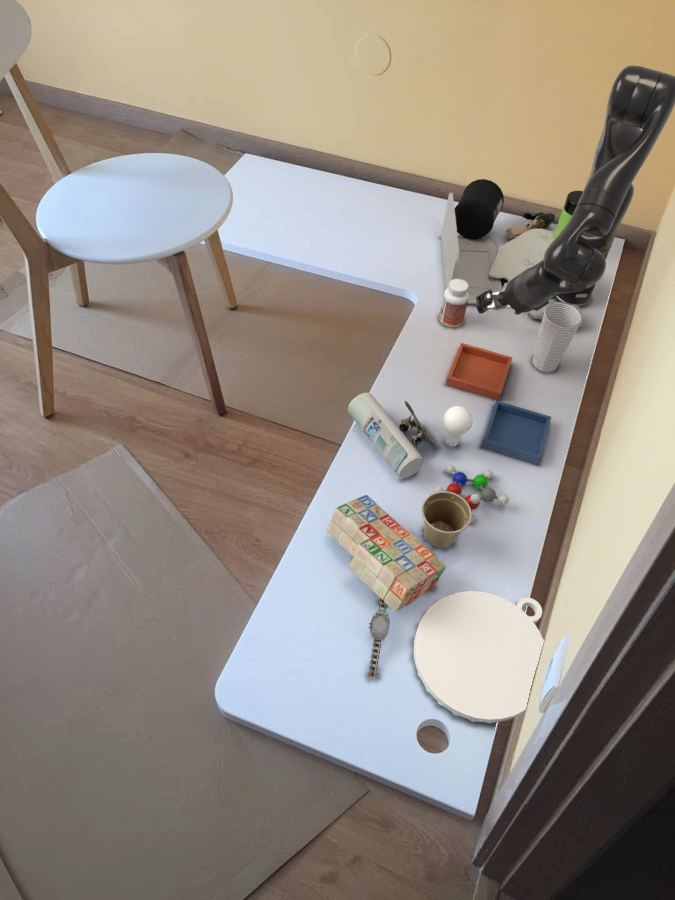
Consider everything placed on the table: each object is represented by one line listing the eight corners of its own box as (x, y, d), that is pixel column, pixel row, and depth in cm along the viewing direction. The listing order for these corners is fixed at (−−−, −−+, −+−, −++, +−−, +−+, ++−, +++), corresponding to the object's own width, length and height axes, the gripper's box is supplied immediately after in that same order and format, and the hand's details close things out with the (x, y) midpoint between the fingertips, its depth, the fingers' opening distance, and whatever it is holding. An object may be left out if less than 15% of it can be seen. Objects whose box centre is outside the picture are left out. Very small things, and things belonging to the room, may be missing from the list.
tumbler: (574, 247, 207) (594, 191, 194) (577, 263, 202) (597, 207, 189) (547, 244, 207) (566, 188, 194) (549, 260, 203) (568, 204, 189)
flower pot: (449, 564, 142) (458, 541, 135) (407, 541, 145) (412, 517, 138) (471, 530, 147) (479, 505, 140) (429, 508, 150) (436, 483, 143)
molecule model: (424, 479, 158) (436, 524, 147) (430, 453, 153) (442, 497, 142) (493, 481, 159) (509, 526, 149) (500, 454, 155) (517, 499, 144)
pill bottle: (468, 322, 185) (477, 288, 177) (449, 331, 183) (457, 296, 174) (452, 308, 188) (460, 273, 180) (433, 316, 186) (440, 281, 177)
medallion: (485, 749, 119) (482, 754, 121) (588, 649, 131) (584, 654, 132) (386, 641, 129) (385, 647, 131) (490, 557, 141) (487, 564, 143)
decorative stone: (526, 325, 186) (532, 309, 182) (527, 308, 190) (532, 292, 186) (579, 334, 185) (586, 318, 181) (579, 316, 189) (585, 301, 185)
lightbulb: (468, 438, 162) (478, 404, 154) (461, 458, 159) (471, 425, 150) (441, 430, 163) (449, 396, 155) (434, 450, 160) (442, 417, 151)
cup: (566, 358, 179) (586, 309, 167) (557, 381, 174) (577, 332, 162) (532, 346, 181) (549, 297, 169) (522, 369, 176) (540, 319, 164)
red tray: (459, 350, 179) (461, 342, 177) (510, 364, 177) (512, 357, 175) (445, 385, 172) (447, 377, 170) (498, 400, 170) (501, 393, 168)
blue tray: (493, 407, 168) (496, 400, 166) (548, 423, 166) (551, 416, 164) (480, 447, 161) (483, 440, 159) (537, 465, 159) (541, 458, 157)
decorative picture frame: (439, 462, 154) (414, 456, 164) (458, 439, 155) (433, 435, 165) (403, 422, 150) (380, 419, 160) (423, 399, 151) (399, 397, 161)
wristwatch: (392, 600, 137) (394, 595, 132) (380, 680, 131) (381, 678, 127) (372, 596, 137) (374, 591, 132) (360, 677, 132) (361, 674, 127)
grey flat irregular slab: (484, 281, 188) (511, 214, 205) (480, 294, 192) (506, 227, 209) (552, 303, 186) (573, 234, 203) (546, 317, 190) (567, 247, 206)
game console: (503, 307, 189) (518, 259, 177) (446, 304, 189) (456, 254, 177) (493, 241, 207) (505, 192, 195) (440, 237, 206) (449, 188, 194)
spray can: (393, 481, 152) (342, 415, 162) (415, 476, 156) (364, 412, 166) (407, 459, 148) (354, 393, 158) (429, 455, 152) (377, 391, 162)
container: (448, 241, 207) (465, 209, 218) (491, 246, 203) (506, 213, 214) (448, 201, 198) (466, 170, 209) (493, 205, 194) (509, 173, 205)
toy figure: (525, 232, 201) (560, 221, 208) (516, 211, 201) (552, 200, 208) (507, 243, 207) (542, 231, 215) (499, 222, 207) (534, 211, 214)
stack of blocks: (355, 516, 148) (314, 535, 139) (367, 493, 145) (325, 510, 136) (433, 589, 139) (394, 613, 130) (447, 566, 136) (408, 589, 127)
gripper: (563, 271, 148) (527, 293, 164) (497, 268, 145) (466, 291, 161) (565, 308, 148) (528, 327, 164) (499, 306, 145) (468, 325, 161)
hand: (498, 309), depth 162 cm, fingers open, 8 cm apart
